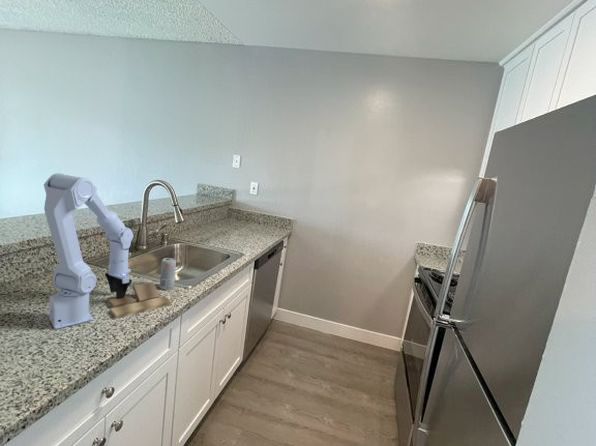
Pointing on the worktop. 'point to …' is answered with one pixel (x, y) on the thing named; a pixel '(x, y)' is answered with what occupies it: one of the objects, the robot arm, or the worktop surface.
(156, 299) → the laid board
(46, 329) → the worktop surface
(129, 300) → the brown flat square block
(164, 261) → the energy drink
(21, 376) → the worktop surface
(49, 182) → the robot arm
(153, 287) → the plank
